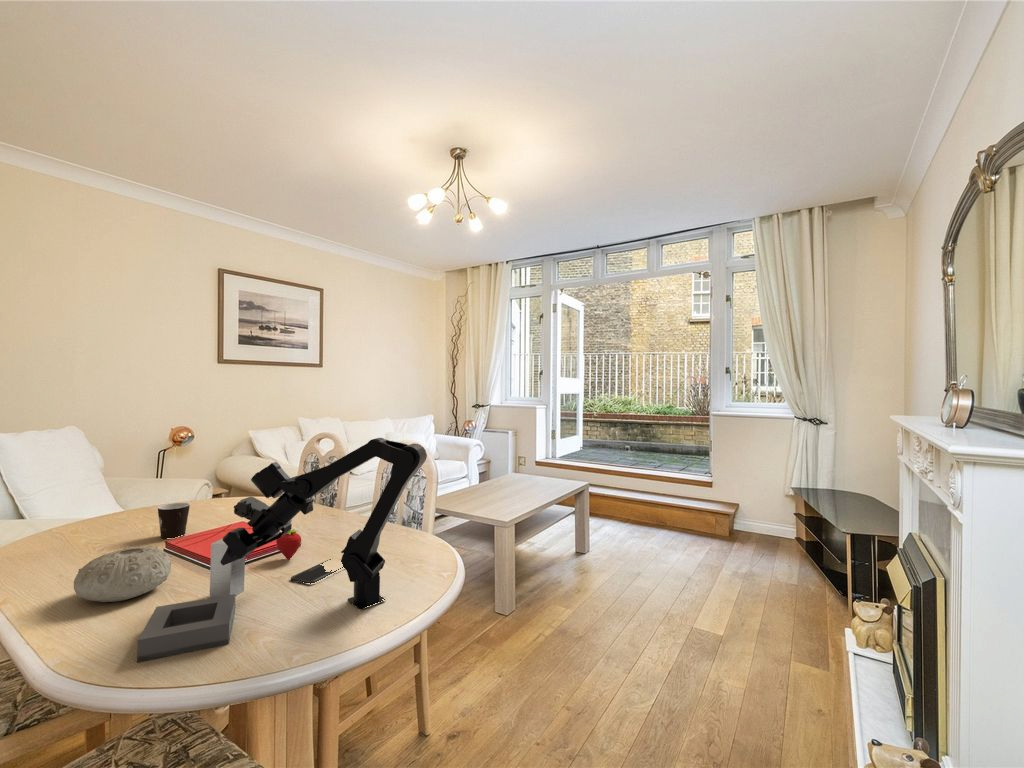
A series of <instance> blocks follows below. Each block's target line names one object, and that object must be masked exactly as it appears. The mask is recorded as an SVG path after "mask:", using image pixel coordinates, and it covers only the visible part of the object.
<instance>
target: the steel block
mask: <svg viewBox="0 0 1024 768" xmlns="http://www.w3.org/2000/svg"><path fill="white" fill-rule="evenodd" d="M227 547H228V546H227V545H226V544H225V542H224V541H223V537H222V538H221V539H218V540H216V541H214V542H212V543H211V544H210V571H209V572H210V575H209V578H210V579H209V598H214V597H220V596H226V595H232V594H236V597H238V596H239V595H240V593H241V594H242V593H244V592H245V576H246V573H245V567H246V565H245V564H246V557H244V558H242V559H238V560H236V561H233V562H231V563H228V564H226V565H222V564H221V563H220V561H221V559H222V558H223V556H224V554H225V552H226V550H227ZM237 595H238V596H237Z"/></svg>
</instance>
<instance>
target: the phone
mask: <svg viewBox="0 0 1024 768" xmlns="http://www.w3.org/2000/svg"><path fill="white" fill-rule="evenodd" d="M331 559H332V558H330V559H327V560H324V561H323V562H320V563H319V564H316V565H314V566H312V567H309V568H307V569H305V570H303V571H300V572H299V573H296V574H295V575H292V576H291V577H290V581H291V580H293V581H299V582H302V583H303V582H304V583H310V584H311V583H315V582H317V581H319V580H321V579H323V578H325V577H326V576H328V575H330V574H332V573H334V572H336V571H337V570H336V571H334V572H331V571H332V570H331V571H330V572H325V571H326V570H325V569H324V566H322V565H320V564H323V563H324V562H326V561H328V560H331ZM342 568H343V567H342ZM340 569H341V568H340ZM338 570H339V569H338ZM293 581H292V582H293ZM302 583H301V584H302Z"/></svg>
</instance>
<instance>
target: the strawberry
mask: <svg viewBox="0 0 1024 768" xmlns="http://www.w3.org/2000/svg"><path fill="white" fill-rule="evenodd" d="M275 542H276V545H277V549H278V550H279V551H280V553H281V554H282V555H283V556H284V557H285V559H286V558H287V560H291V559H292V557H294V555H295V554H296V552H298V550H299V548H300V547H301V543H302V537H301V535H300V534H299V533H298V530H296V529H295V528H294V529H291V530H290V531H289V532H288V533H287V534H285V535H284V536H282V537H280V538H278V539H277V540H275ZM290 558H291V559H290Z"/></svg>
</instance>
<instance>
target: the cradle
mask: <svg viewBox="0 0 1024 768" xmlns="http://www.w3.org/2000/svg"><path fill="white" fill-rule="evenodd" d="M236 598H237V596H236V594H232V595H226V596H220V597H214V598H210V597H209V598H208V597H207V598H202V599H196V600H189V601H185V602H184V601H183V602H177V603H172V604H165V605H159V606H156V607H155V609H154V610H153V613H152V614H151V615H150V618H149V620H148V621H147V623H146V625H145V626H144V628H143V630H142V632H141V633H140V635H139V637H138V639H137V648H136V649H137V650H136V651H137V653H136V663H141V662H146V661H152V660H156V659H160V658H166V657H171V656H177V655H180V654H187V653H191V652H196V651H201V650H206V649H210V648H217V647H221V646H226V645H229V644H230V639H231V634H232V631H233V625H234V618H235V615H236V600H237V599H236Z"/></svg>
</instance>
